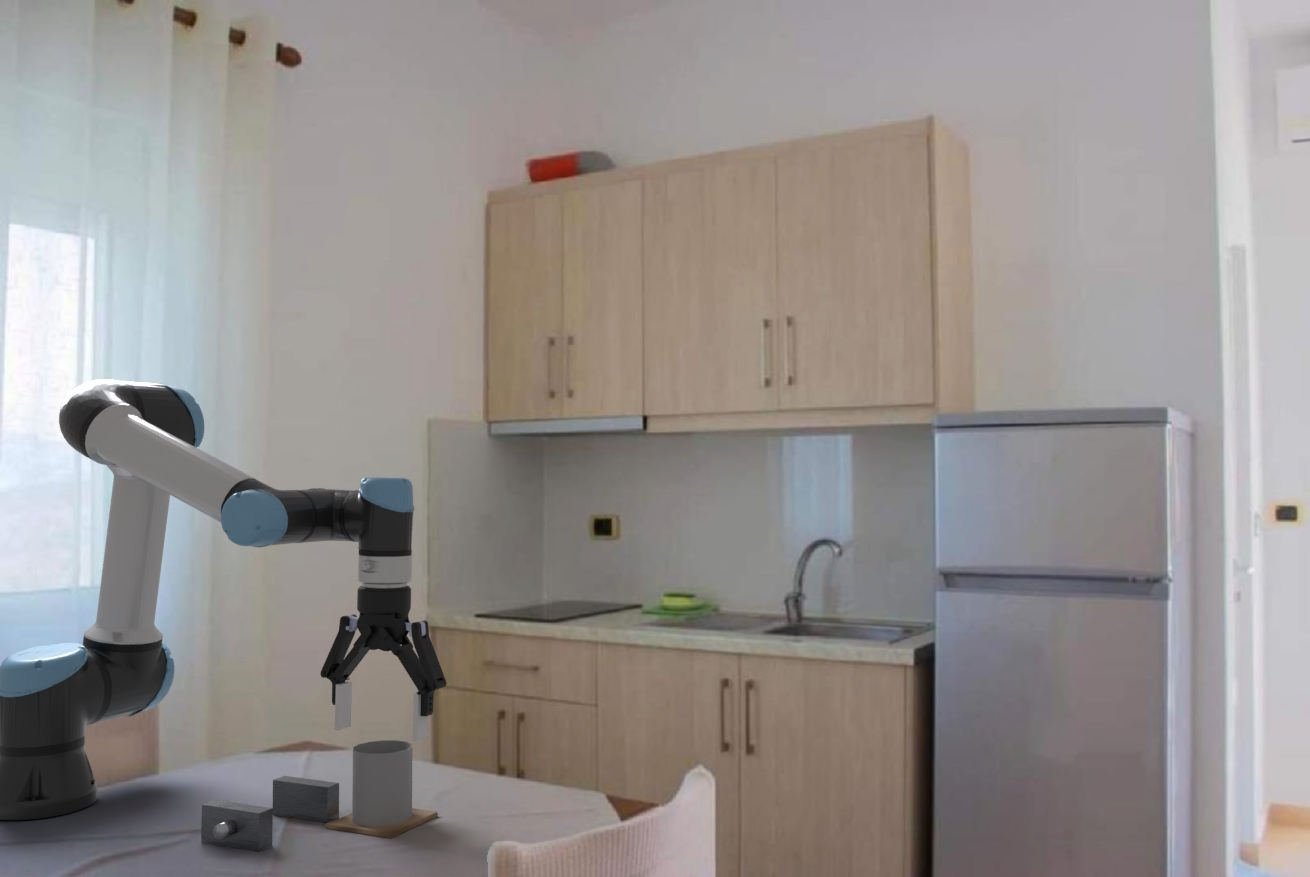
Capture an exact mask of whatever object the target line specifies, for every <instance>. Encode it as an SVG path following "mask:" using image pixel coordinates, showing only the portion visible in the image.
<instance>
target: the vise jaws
mask: <svg viewBox="0 0 1310 877" xmlns="http://www.w3.org/2000/svg"><path fill="white" fill-rule="evenodd" d="M274 816H281V817H286V818H292V819H300V820H306V821H313V822H320V823H325V824H327V823H330V822H332V821H334V820H337V819H339V818H340V783H339V782H334V781H326V780H319V779H311V778H306V777H305V778H303V777H298V776H297V777H296V776H290V775H284V776H280V777H277V778H275V779H273V780H272V807H267V806H260V805H254V804H247V803H242V802H241V803H240V802H234V801H227V800H221V799H214V800H211V801H209V802H206V803H203V804H201V832H200V833H201V835H200V836H201V841H200V842H201V843H204V844H211V845H216V846H223V847H228V848H236V849H239V850H246V851H251V852H258V853H260V852H261V851H264V850H267V849H268V848H269V849H270V848H271V847H273V827H274V824H273V822H274V820H273V818H274Z"/></svg>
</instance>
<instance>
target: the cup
mask: <svg viewBox="0 0 1310 877" xmlns="http://www.w3.org/2000/svg"><path fill="white" fill-rule="evenodd" d="M351 805H352V806H351V808H352V812H351V813H352V822H354V823H356V824H357V825H362V826H368V827H383V826H390V825H396V824H400V823H403V822H406V821H408V820H409V819H410V818H412V808H413V743H412V742H408V741H404V740H397V739H389V740H388V739H382V740H381V739H380V740H372V741H367V742H362V743H359V744H357V745H355V746H352V804H351Z"/></svg>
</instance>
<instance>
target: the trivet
mask: <svg viewBox="0 0 1310 877" xmlns="http://www.w3.org/2000/svg"><path fill="white" fill-rule="evenodd" d="M438 814H439V813H438V811H437V810H436V811H435V810H428V809H421V808H414V807H412V818H410V819H409V820H408V821H406V822H403V823H400V824H396V825H390V826H383V827H368V826H362V825H357V824H356V823H354V822H352V812H351V813H349V814H346V815H343V816H341V817H339V818H338V819H335V820H333V821H331V822H328V823H325V824H326V825H325V827H326V829H329V830H335V831H336V830H337V831H343V832H347V833H348V832H349V833H357V834H360V835H361V834H362V835H369V836H375V837H382V838H387V839H392V838H395V837H397V836H398V835H401V834H402V833H404V832H407V831H408V830H411V829H413V828H415V827H417V826H420V825H422V824H423V823H426V822H427V821H429V820H432V819H434V818H436V817H438Z"/></svg>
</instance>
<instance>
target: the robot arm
mask: <svg viewBox="0 0 1310 877" xmlns="http://www.w3.org/2000/svg"><path fill="white" fill-rule="evenodd" d="M58 424H59V430H60V432H61V434H62V437H63V439H64V440H65V441H66V443H67V444H68V445H69V446H70V447H72V448H73V449H74V450H75V451H76V452H78V453H79V454H81V455H82V456H84V457H85V458H88V459H90V460H91V461H94V462H96V463H97V464H100V465H105V466H106V467H107V468H108V470H110V471H111V473H112V475H113V482H112V489H111V497H110V505H109V514H108V519H107V520H108V521H107V528H106V529H107V530H106V537H105V539H106V540H105V547H104V557H103V563H102V570H101V578H100V579H101V580H100V586H99V594H98V596H99V597H98V604H97V613H96V619H95V620H96V621H95V622H94V623H93V624H92V625H91V626H90V627H88V628H87V629H85V631H84V633H83V637H82V644H81V643H77V642H58V643H52V644H48V645H39V646H33V647H29V648H26V649H22V650H19V651H17V652H14V653H12V654H10V655H9V656H7V657H5V659H4V660H3V661H2V662H1V664H0V821H26V820H34V819H35V820H36V819H44V818H50V817H51V818H52V817H56V816H60V815H66V814H70V813H73V812H77V811H80V810H83V809H85V808H88V807H89V806H91V805H93V804H94V803H96V801H97V800H98V796H97V795H98V784H97V781H96V779H95V776H94V773H93V772H94V771H93V769H92V767H91V764H90V761H89V758H88V755H87V753H86V744H85V743H86V741H85V739H86V726H90V725H95V724H98V723H102V722H107V721H111V720H115V719H119V718H126V717H132V716H135V715H138V714H140V713H142V712H146V711H148V710H151V709H154V707H156V706H158V704H160V703H161V702H162V701H163V700H164V699H165V698H166V696H167V695H168V693H169V692H170V690H171V687H172V685H173V682H174V677H175V662H174V658H173V657H171V654H172V652H171V651H170V649H169V647H168V646H167V645H166V644H165V643H164V642H163V637H164V636H163V633H162V632H161V631H160V630H159V628H157V627H156V625H155V620H156V611H157V604H158V598H159V597H158V596H159V589H160V581H161V571H162V563H163V555H164V549H165V548H164V547H165V539H166V532H167V523H168V515H169V508H170V507H169V506H170V498H171V497H174V498H176V499H177V500H179V501H180V502H183V503H184V504H186V505H188V506H189V507H192V508H193V509H195V510H197V511H199V512H201V513H202V514H204V515H206V516H208V517H210V518H212V519H214V520H215V521H216V522H219V523H220V524H221V528H222V530H223V532H224V533H225V534H226V537H227V539H228V540H230V542H232V543H234V544H235V545H237V546H241V547H253V548H264V547H265V548H266V547H269V546H278V545H288V544H303V543H312V542H313V543H315V542H316V543H317V542H329V541H330V542H331V541H332V542H333V541H334V542H353V543H355V542H356V543H358V564H357V565H358V569H357V570H358V571H357V575H358V576H357V581H358V582H359V583H360V584H361V585H360V586H359V587H358V588H357V595H356V596H357V600H356V604H357V605H356V609H357V611H358V613H359V616H357V615H356V614H346V615H342V616H341V617H340V618H339V626H338V631H337V634H336V637H335V638H334V641H333V643H332V645H331V648H330V650H329V652H328V655H327V657H326V659H325V662H324V664H323V666H322V668H321V670H320V673H319V674H320V677H321V678H324V679H325V678H326V679H328V680H330V683H331V703H332V705H333V706H334V730H335V731H341V730H344V729H347V728H351V727H352V700H353V699H352V698H353V696H352V694H353V687H352V686H353V681H350V680H351V678H350V677H351V675H352V673H353V672H354V671H355V669H356V668H357V667H358V665H360V663H361V662H362V660H363V659H364V658H365V656H366V655H367V654H368V652H369V651H376V650H380V651H383V652H391V653H392V655H394V656H396V657H397V659H398V660H399V662H400V664H401V665H402V666H403V668H404V670H405V672H406V674H407V675H408V677H409V678H410V679H411V681H412V682H413V684H414V686H415V687H416V689H417V690H418V691H417V692H415V693H413V701H412V702H413V707H412V708H413V711H412V713H413V714H412V741H414V742H418V741H421V740H424V739H426V738H429V732H430V730H429V729H430V728H429V725H430V722H429V720H430V716H432V715H433V714H434V698H435V697H434V695H435V694H434V693H435V691H437V690H440V689H443V688H445V687H446V686H447V684H448V683H447V679H446V677H445V675H444V674H445V673H444V671H443V668H442V667H441V664H440V661H439V658H438V656H437V653H436V650H435V648H434V645H433V643H432V640H431V638H430V637H431V636H430V633H429V632H430V629H429V627H430V626H429V623H428V621H427V620H419V621H415V622H412V621H411V622H410V619H409V614H410V611H411V610H412V609H411V608H412V588H411V587H410V585H408V584H409V583H410V582H411V581H412V580H413V578H412V577H413V574H412V572H413V550H412V544H413V542H412V540H413V527H414V526H413V525H414V524H413V522H414V521H413V520H414V512H415V511H414V510H415V505H414V493H413V492H414V491H413V490H414V488H413V487H414V486H413V483H412V481H411V480H410V479H408V478H405V477H379V476H375V477H369V476H368V477H363V478H362V479H361V481H360V485H359V489H358V490H357V489H356V490H345V489H334V488H333V489H330V488H328V489H327V488H324V487H322V488H321V487H319V488H318V487H317V488H306V489H305V488H304V489H276V488H274V487H271V486H270V485H268V484H266V483H264V482H262V481H260V480H258V479H256V478H255V477H254V476H251V475H249V474H247V473H245V472H243V471H241V470H239V469H237V468H236V467H234V466H232V465H230V464H228V463H226V462H225V461H222V460H220V459H219V458H217V457H215V456H213V455H211V454H210V453H207V452H205V451H204V450H202V449H200V448H198V447H200V446H201V445H202V442H203V439H204V435H205V419H204V415H203V411H202V409H201V407H200V405H199V404H198V403H197V401H196V398H195V397H194V396H193V395H192V394H191V393H190V392H188V390H185V389H183V388H181V387H178V386H173V385H167V384H163V383H155V382H154V383H152V382H140V381H139V382H137V381H136V382H135V381H128V380H127V381H126V380H115V379H103V378H101V379H94V380H91V381H87V382H84V383H82V384H81V385H78V386H77V387H76V388H74V389H73V390H72V391H70V393H68V395H67V396H66V398H64V400H63V402H62V403H61V406H60V410H59V415H58ZM357 630H358V631H359V633H360V635H359V636H358V637H357V639H356V640H355V641H354V643H353V645H352V646H353V647H352V648H351V649H350V651H349V648H350V646H351V643H352V641H353V639H354V637H355V635H356V631H357ZM408 635H409V636H410V637H411V639H412V642H411V640H410V638H409V637H408ZM413 648H414V649H415V650H414V649H413ZM348 651H349V652H348Z"/></svg>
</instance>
